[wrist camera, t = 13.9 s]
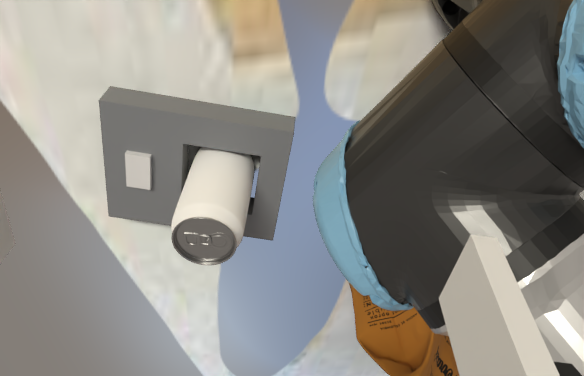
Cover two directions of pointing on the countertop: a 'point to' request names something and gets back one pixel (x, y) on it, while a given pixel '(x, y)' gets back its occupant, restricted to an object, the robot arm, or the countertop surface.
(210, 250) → the can
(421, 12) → the countertop surface
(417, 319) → the coffee package
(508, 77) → the robot arm
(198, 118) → the socket plate
